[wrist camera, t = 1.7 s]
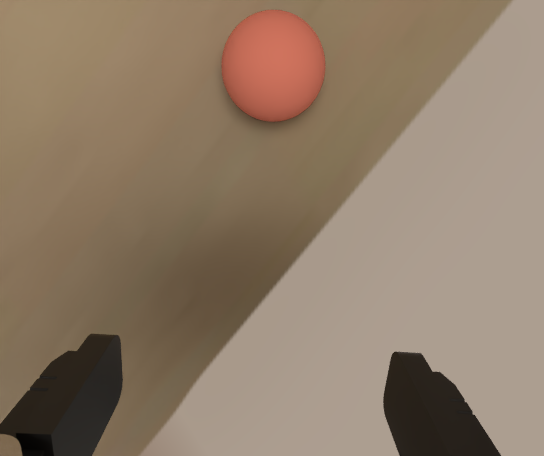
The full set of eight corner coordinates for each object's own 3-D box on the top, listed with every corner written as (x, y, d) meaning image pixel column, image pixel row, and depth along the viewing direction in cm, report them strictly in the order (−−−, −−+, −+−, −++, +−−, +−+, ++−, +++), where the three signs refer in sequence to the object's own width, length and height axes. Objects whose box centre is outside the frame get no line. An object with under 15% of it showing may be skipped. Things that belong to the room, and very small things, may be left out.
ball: (270, 137, 25) (271, 148, 20) (207, 69, 24) (190, 61, 19) (337, 74, 24) (356, 67, 19) (274, -2, 23) (277, -32, 18)
